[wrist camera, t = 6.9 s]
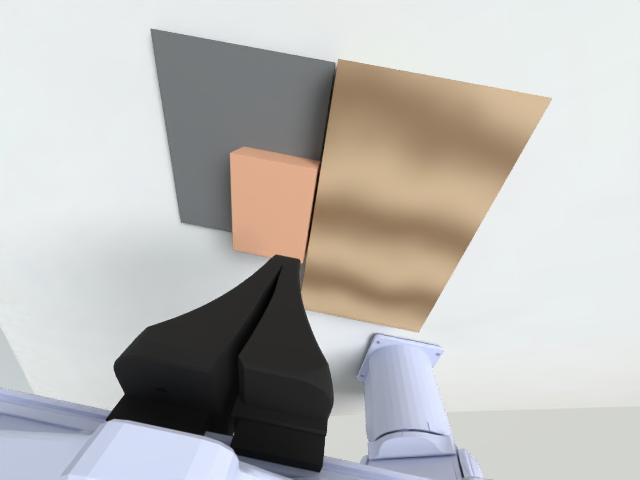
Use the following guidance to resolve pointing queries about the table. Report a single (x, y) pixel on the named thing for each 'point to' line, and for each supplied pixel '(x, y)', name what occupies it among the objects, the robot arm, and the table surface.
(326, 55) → the table surface
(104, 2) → the table surface
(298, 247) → the block
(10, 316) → the table surface
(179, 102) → the mat
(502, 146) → the board
